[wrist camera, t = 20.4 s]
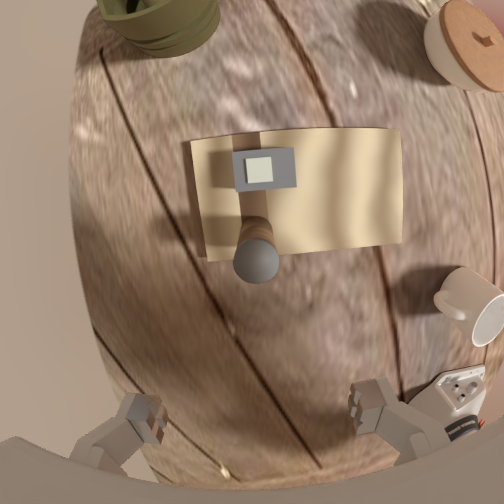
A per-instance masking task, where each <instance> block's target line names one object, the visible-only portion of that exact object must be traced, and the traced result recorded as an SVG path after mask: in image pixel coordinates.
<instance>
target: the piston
mask: <svg viewBox="0 0 504 504" xmlns="http://www.w3.org/2000/svg"><path fill="white" fill-rule="evenodd" d="M97 3H98V6H99V10H100V13H101V15H102V18H103V20H104V22H105V23H106V24H107V25H109V26H110V27H112V28H113V29H114V30H116V31H117V32H118V33H120V34H121V35H122V36H124V37H125V38H126V39H127V40H129V41H130V42H131V43H132V44H134V45H135V46H136V47H137V48H139V49H140V50H141V51H142V52H144V53H146V54H148V55H150V56H153V57H158V58H171V57H177V56H180V55H184V54H186V53H189V52H191V51H193V50H195V49H197V48H198V47H200V46H201V45H202V44H204V43H205V42H206V41H207V40H208V39H209V38H210V37H211V36H212V35H213V33H214V32H215V30H216V29H217V27H218V24H219V21H220V9H219V5H218V2H217V0H97Z"/></svg>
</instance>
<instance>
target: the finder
mask: <svg viewBox="0 0 504 504" xmlns="http://www.w3.org/2000/svg"><path fill="white" fill-rule="evenodd" d="M232 160H233V170H234V180H235V189H236V192H245V191H256V190H268V189H281V188H295V187H297V182H296V168H295V156H294V147H288V148H273V149H260V150H249V151H238V152H232Z"/></svg>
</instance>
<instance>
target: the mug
mask: <svg viewBox="0 0 504 504" xmlns="http://www.w3.org/2000/svg"><path fill="white" fill-rule="evenodd" d="M434 304H435V305H436V307H437V308H438V309H439V310H440V311H441V312H442V313H444V314H445V315H447V317H448V318H449V319H450V320H451V321H452V322H453V323H454V324H455V325H456V326H457V327H458V328H459V329H460V330H461V331H462V332H463V334H464V335H465V336H466V337H467V338H468V339H469V340H470V341H471V342H472V343H473V345H475V346H477V347H481V346H484V345H486V344H488V343H489V342H491V341H492V340H493V339H494V338H495V337H496V336H497V335H498V334H499V333H500V331H501V330H502V328H503V327H504V292H502V291H501V290H500V289H498V288H497V287H496V286H494V285H493V284H492V283H490V282H489V281H487V280H486V279H485V278H483V277H482V276H480V275H479V274H478V273H476V272H475V271H473V270H472V269H470V268H467V267H460V268H457V269H455V270H454V271H453V272H451V273H450V274H449V275H448V276H447V278H446V279H445V280H444V282H443V284H442V286H441V289H440V291H438V292H437V293H436V294H435V295H434Z"/></svg>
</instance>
